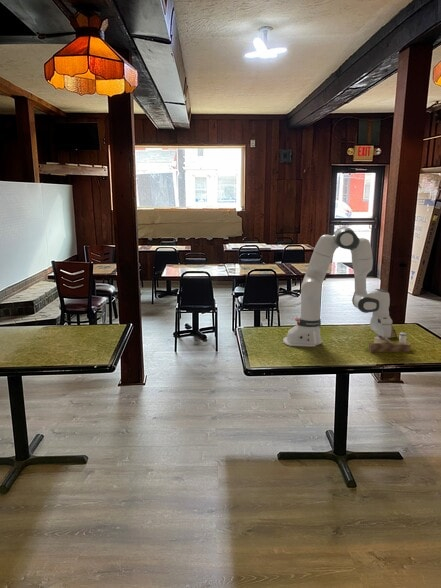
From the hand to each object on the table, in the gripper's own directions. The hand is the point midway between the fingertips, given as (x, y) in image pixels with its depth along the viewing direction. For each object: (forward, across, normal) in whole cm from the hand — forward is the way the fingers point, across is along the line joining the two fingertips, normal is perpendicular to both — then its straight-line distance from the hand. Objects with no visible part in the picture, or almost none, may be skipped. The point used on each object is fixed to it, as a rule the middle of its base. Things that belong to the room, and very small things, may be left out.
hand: (379, 340), depth 248 cm
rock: (+3, -13, +12) cm, 18 cm away
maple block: (+2, +5, -1) cm, 6 cm away
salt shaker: (+2, +5, +11) cm, 13 cm away
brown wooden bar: (+2, +11, +1) cm, 11 cm away
